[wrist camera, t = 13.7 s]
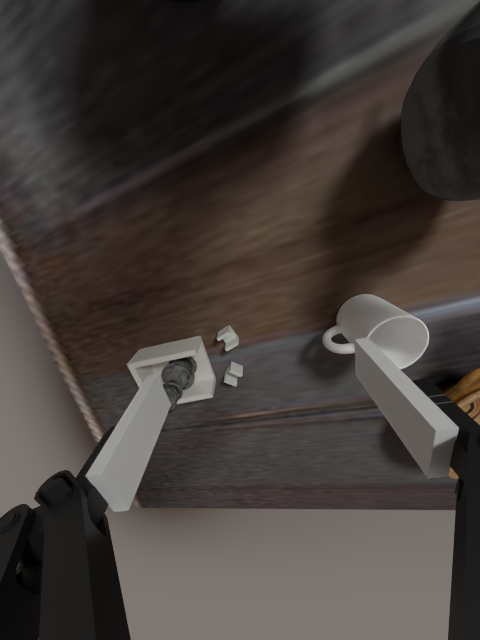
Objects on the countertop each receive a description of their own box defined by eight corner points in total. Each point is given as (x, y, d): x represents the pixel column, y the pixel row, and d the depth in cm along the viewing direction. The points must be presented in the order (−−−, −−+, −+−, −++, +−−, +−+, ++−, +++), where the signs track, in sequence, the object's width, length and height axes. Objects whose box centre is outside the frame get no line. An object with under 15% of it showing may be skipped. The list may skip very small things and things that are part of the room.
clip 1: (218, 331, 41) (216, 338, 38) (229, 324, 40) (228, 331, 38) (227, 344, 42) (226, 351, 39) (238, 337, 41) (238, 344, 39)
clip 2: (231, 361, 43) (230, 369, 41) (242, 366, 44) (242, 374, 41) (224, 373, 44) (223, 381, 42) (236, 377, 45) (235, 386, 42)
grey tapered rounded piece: (184, 346, 42) (163, 391, 30) (204, 369, 43) (191, 418, 32) (161, 361, 43) (131, 409, 32) (181, 383, 45) (160, 435, 34)
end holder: (139, 349, 43) (126, 364, 38) (200, 335, 41) (194, 349, 37) (159, 390, 46) (150, 409, 42) (216, 379, 45) (212, 397, 40)
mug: (319, 348, 42) (340, 385, 32) (308, 308, 39) (329, 336, 29) (386, 329, 40) (430, 361, 31) (381, 285, 37) (428, 307, 28)
